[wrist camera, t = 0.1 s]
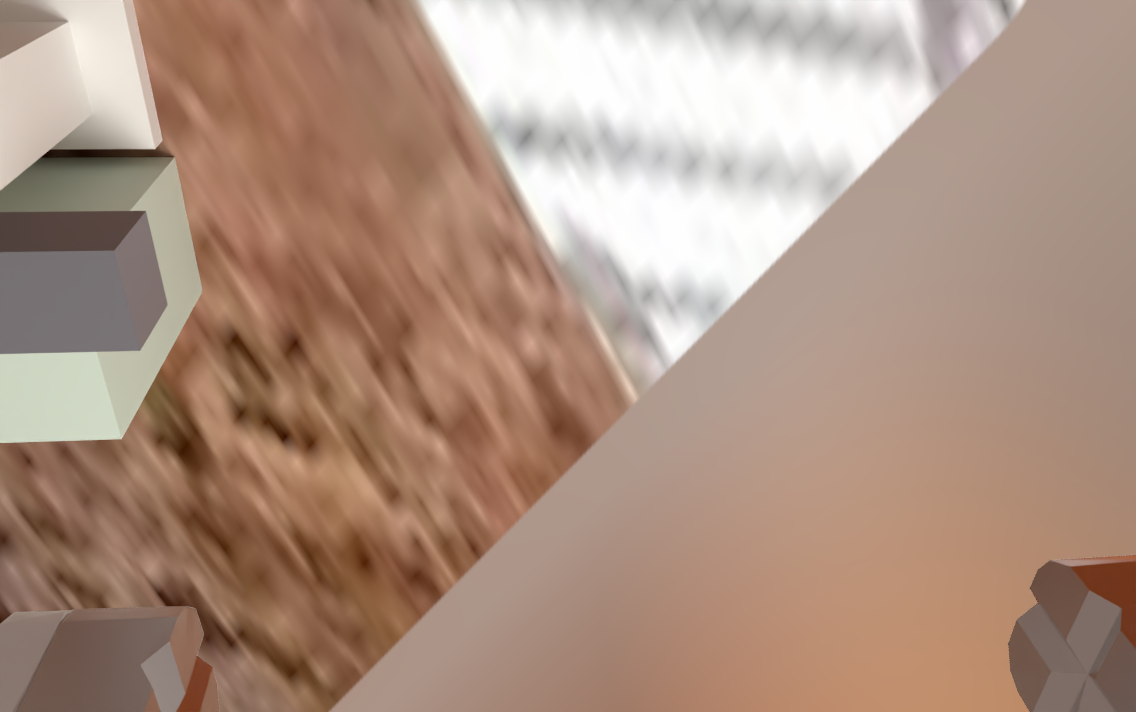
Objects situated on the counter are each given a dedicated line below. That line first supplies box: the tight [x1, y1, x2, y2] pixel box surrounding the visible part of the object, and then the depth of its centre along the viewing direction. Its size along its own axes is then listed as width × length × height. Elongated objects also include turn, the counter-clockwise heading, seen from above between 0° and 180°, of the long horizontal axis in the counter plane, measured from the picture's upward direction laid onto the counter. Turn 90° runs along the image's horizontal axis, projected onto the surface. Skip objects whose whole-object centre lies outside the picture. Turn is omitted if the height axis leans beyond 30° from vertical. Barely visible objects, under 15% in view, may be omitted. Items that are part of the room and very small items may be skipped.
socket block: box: [0, 157, 202, 443], centre depth 49 cm, size 9×11×16 cm
